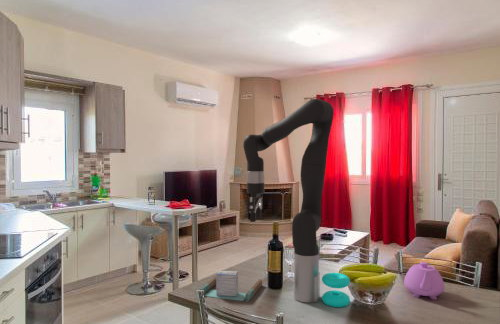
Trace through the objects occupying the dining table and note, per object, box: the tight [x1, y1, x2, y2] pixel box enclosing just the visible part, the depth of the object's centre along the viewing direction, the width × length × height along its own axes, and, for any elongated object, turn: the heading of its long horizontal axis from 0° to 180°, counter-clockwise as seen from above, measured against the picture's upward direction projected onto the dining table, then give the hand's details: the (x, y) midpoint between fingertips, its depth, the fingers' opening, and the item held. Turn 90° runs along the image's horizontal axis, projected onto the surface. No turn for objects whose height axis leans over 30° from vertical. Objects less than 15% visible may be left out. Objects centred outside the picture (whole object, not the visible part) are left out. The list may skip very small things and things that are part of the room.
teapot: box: [403, 261, 445, 301], centre depth 141 cm, size 20×14×12 cm
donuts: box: [321, 272, 351, 308], centre depth 134 cm, size 10×10×10 cm
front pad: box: [203, 288, 247, 302], centre depth 142 cm, size 16×7×1 cm, turn 72°
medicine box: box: [215, 270, 239, 297], centre depth 142 cm, size 8×4×9 cm, turn 82°
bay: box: [198, 275, 263, 303], centre depth 147 cm, size 20×18×2 cm
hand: (255, 220), depth 155 cm, fingers open, 8 cm apart
